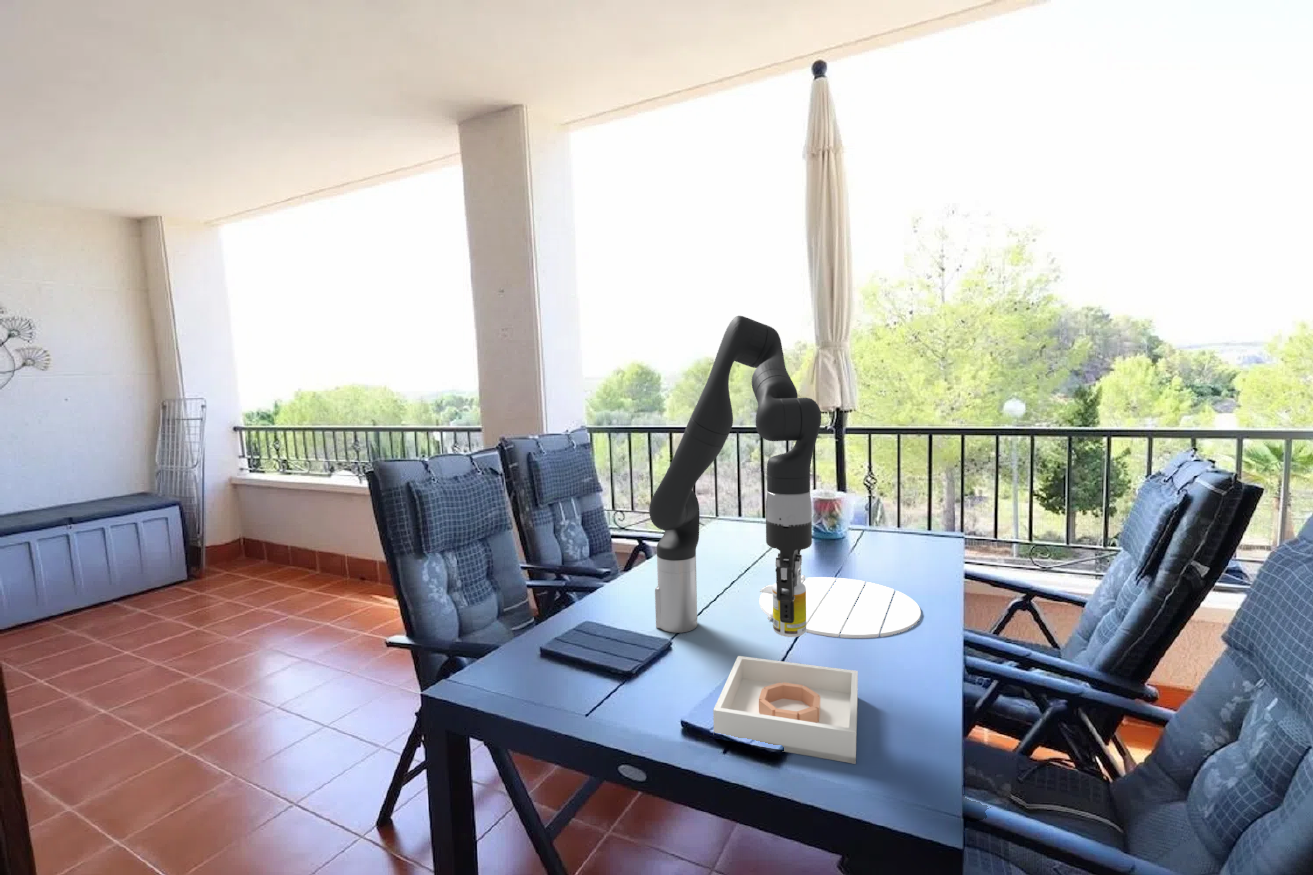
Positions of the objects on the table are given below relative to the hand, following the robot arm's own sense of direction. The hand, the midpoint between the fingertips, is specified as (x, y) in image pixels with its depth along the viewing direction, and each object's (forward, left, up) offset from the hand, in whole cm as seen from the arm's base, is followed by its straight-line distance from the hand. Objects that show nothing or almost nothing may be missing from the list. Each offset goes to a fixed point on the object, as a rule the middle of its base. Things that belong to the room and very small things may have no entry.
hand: (789, 614), depth 103 cm
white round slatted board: (+5, +55, -19) cm, 58 cm away
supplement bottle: (0, 0, -3) cm, 3 cm away
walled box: (0, 0, -18) cm, 18 cm away
